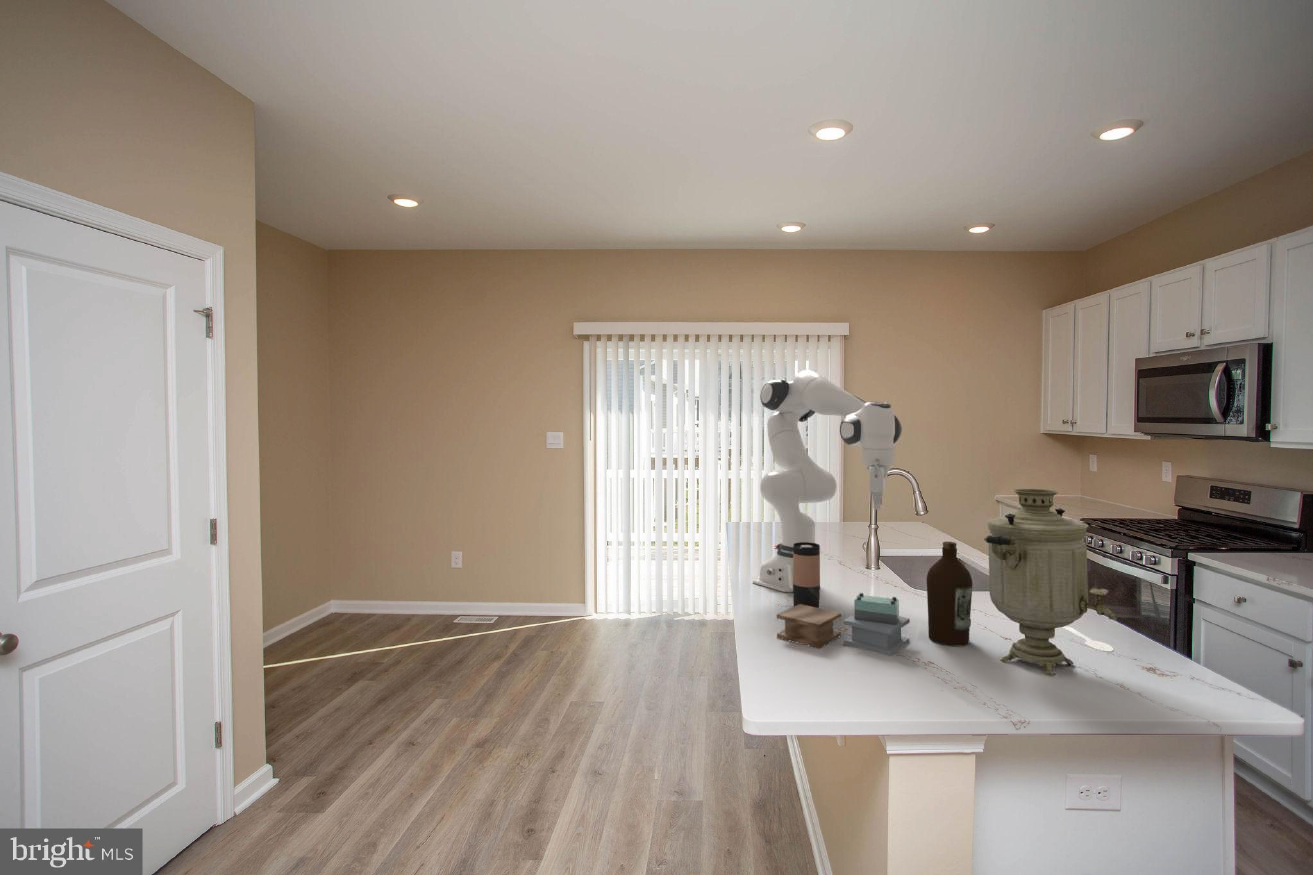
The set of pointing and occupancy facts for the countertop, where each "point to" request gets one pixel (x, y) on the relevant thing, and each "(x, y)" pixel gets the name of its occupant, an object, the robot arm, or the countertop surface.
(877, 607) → the block
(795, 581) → the travel mug
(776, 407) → the robot arm
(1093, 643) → the spoon
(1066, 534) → the samovar
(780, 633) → the stand
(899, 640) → the stand
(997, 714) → the countertop surface
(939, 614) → the olive oil
